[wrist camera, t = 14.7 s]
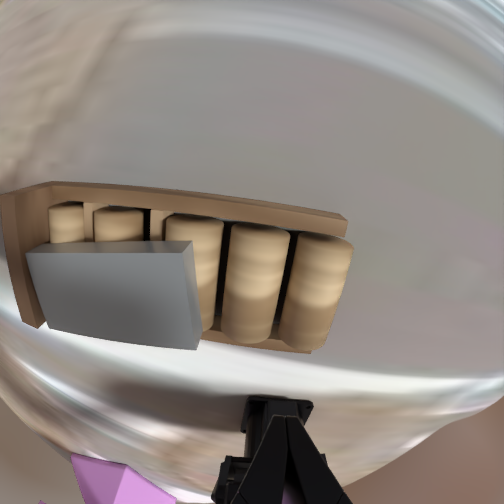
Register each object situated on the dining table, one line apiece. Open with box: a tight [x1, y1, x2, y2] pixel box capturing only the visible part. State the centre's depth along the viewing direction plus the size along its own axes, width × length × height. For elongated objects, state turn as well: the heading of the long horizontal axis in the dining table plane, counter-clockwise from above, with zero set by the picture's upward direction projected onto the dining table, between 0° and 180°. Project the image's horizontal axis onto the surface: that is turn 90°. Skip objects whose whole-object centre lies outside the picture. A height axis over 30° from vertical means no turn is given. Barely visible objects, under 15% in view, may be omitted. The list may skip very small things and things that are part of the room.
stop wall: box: [0, 181, 68, 329], centre depth 16 cm, size 10×2×6 cm, turn 172°
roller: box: [94, 206, 144, 242], centre depth 18 cm, size 7×4×4 cm, turn 172°
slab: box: [25, 240, 203, 350], centre depth 15 cm, size 6×12×2 cm, turn 91°
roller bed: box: [48, 182, 354, 354], centre depth 18 cm, size 10×22×4 cm, turn 82°
